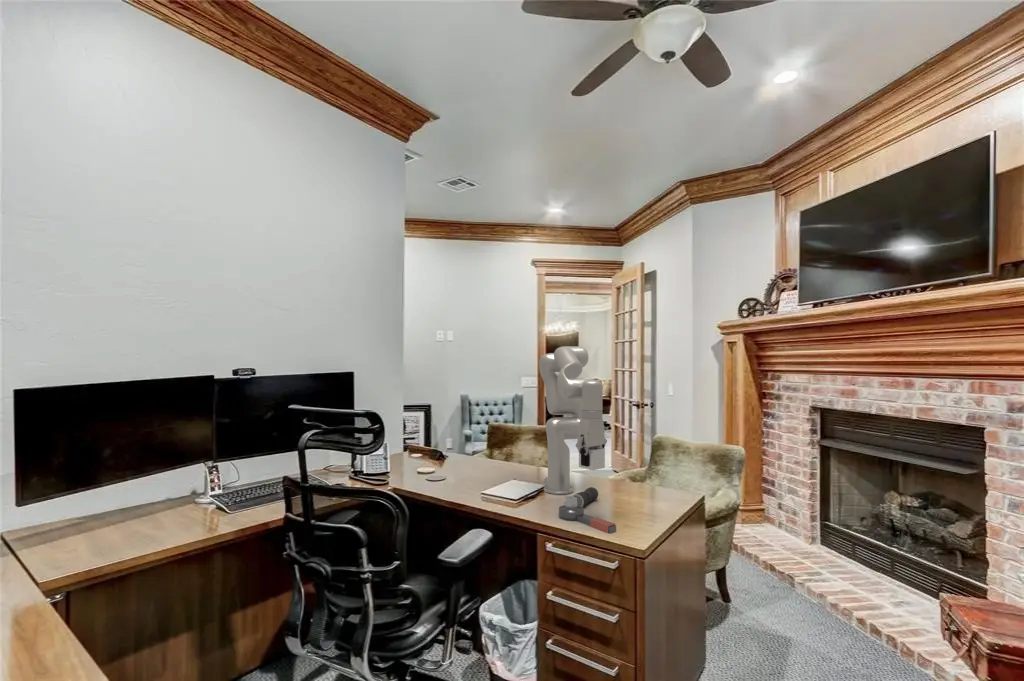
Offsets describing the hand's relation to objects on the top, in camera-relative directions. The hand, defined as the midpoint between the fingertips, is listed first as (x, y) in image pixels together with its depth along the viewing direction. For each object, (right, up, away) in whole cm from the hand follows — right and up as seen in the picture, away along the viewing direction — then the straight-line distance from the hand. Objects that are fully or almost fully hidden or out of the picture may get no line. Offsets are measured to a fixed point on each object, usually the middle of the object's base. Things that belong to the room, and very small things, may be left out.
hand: (591, 464), depth 175 cm
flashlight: (0, -20, +16) cm, 26 cm away
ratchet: (-3, -19, -6) cm, 20 cm away
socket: (0, -1, 0) cm, 1 cm away
